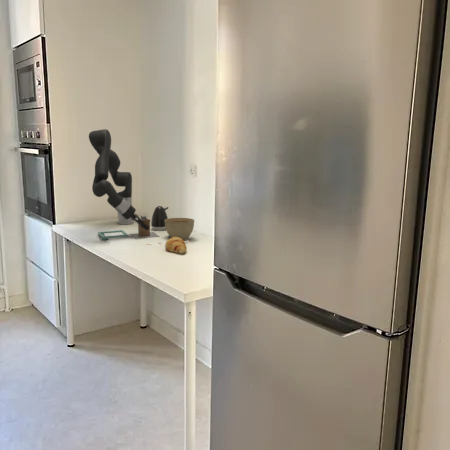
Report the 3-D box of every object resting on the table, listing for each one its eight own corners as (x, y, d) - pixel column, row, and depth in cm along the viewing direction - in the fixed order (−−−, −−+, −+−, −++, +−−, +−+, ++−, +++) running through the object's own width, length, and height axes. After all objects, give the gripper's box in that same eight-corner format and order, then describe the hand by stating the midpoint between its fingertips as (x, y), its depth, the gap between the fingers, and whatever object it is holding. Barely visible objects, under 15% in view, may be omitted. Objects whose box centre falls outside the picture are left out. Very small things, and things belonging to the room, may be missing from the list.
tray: (98, 235, 254) (97, 232, 253) (122, 233, 259) (122, 230, 259) (102, 240, 241) (102, 236, 241) (128, 238, 247) (128, 234, 247)
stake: (129, 236, 253) (128, 215, 250) (153, 233, 258) (152, 213, 256) (134, 241, 240) (134, 219, 238) (160, 238, 246) (159, 217, 244)
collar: (138, 234, 250) (138, 219, 249) (149, 233, 253) (148, 218, 251) (140, 236, 246) (140, 220, 244) (151, 235, 248) (151, 219, 246)
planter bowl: (194, 242, 237) (194, 222, 235) (163, 243, 236) (163, 222, 234) (194, 236, 253) (194, 217, 251) (166, 236, 252) (165, 217, 250)
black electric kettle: (171, 232, 263) (170, 206, 260) (153, 233, 259) (152, 207, 257) (166, 229, 272) (166, 204, 270) (149, 230, 269) (149, 205, 266)
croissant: (189, 261, 214) (196, 246, 214) (171, 254, 209) (178, 238, 209) (173, 250, 232) (179, 236, 232) (156, 243, 227) (163, 229, 227)
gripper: (132, 205, 236) (154, 225, 243) (126, 202, 249) (147, 220, 256) (123, 216, 235) (145, 235, 242) (117, 212, 248) (138, 230, 255)
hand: (146, 227), depth 249 cm, fingers open, 8 cm apart
